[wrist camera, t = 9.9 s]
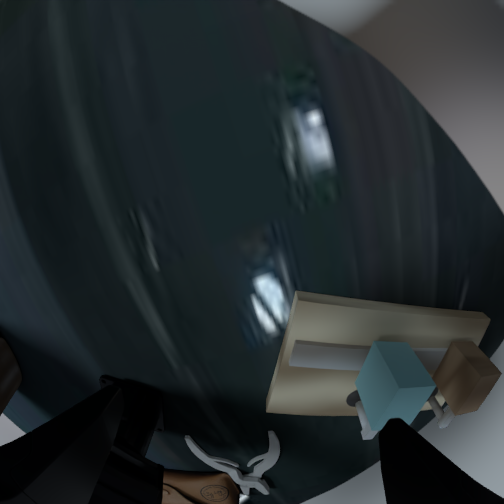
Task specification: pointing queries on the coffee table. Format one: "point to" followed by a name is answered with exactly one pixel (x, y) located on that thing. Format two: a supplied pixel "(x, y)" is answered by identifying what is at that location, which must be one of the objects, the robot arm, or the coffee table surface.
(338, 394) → the beige board with blocks
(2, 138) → the coffee table surface
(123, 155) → the coffee table surface
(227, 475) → the sunglasses case
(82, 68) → the coffee table surface
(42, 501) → the robot arm
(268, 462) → the pliers
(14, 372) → the plant pot
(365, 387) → the teal block
